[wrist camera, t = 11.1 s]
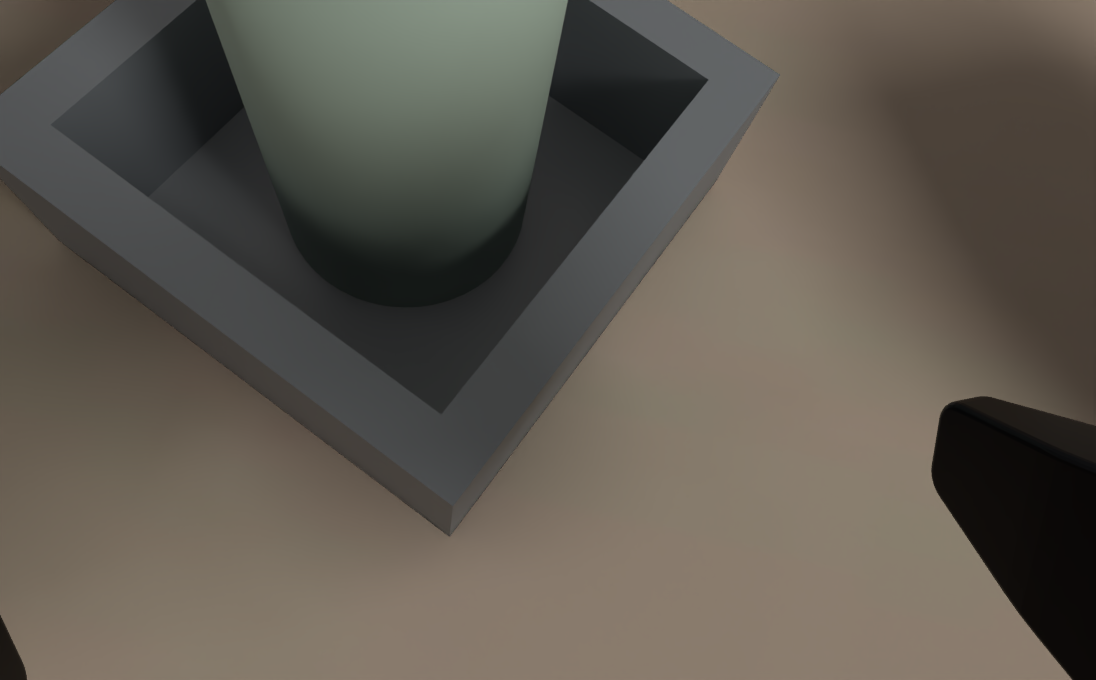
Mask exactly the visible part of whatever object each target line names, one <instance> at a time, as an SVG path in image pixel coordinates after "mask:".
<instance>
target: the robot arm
mask: <svg viewBox="0 0 1096 680" xmlns="http://www.w3.org/2000/svg"><path fill="white" fill-rule="evenodd" d="M931 472H932V479H933V483H934V486H935V489H936V491H937V493H938V495H939V496H940V498H941V499H942V501H943V502H944V504H945V505H946V507H947V508H948V510H949V511H950V513H951V514H952V516H953V517H954V519H955V520H956V522H957V523H958V525H959V526H960V528H961V529H962V530H963V532H964V533H965V535H966V536H967V538H968V539H969V541H970V542H971V544H972V545H973V547H974V548H975V550H976V551H977V553H978V554H979V556H980V557H981V559H982V560H983V562H984V563H985V565H986V566H987V568H988V569H989V571H990V572H991V574H992V575H993V577H994V578H995V580H996V581H997V583H998V584H999V586H1000V587H1001V589H1002V590H1003V592H1004V593H1005V595H1006V596H1007V597H1008V599H1009V600H1010V602H1011V603H1012V604H1013V606H1014V607H1015V609H1016V610H1017V611H1018V613H1019V614H1020V616H1021V617H1022V618H1023V619H1024V621H1025V622H1026V623H1027V625H1028V626H1029V627H1030V628H1031V630H1032V631H1033V632H1034V633H1035V635H1036V636H1037V637H1038V638H1039V640H1040V641H1041V642H1042V643H1043V645H1044V646H1045V647H1046V648H1047V649H1048V651H1049V652H1050V653H1051V654H1052V656H1053V657H1054V658H1055V659H1056V660H1057V662H1058V663H1059V664H1060V665H1061V667H1062V668H1063V669H1064V670H1065V671H1066V673H1067V674H1068V675H1069V676H1070V678H1071V679H1072V680H1096V426H1094V425H1090V424H1087V423H1083V422H1079V421H1076V420H1072V419H1068V418H1065V417H1061V416H1058V415H1054V414H1050V413H1047V412H1043V411H1039V410H1036V409H1032V408H1028V407H1025V406H1021V405H1017V404H1014V403H1010V402H1006V401H1003V400H999V399H995V398H992V397H987V396H980V397H974V398H969V399H964V400H960V401H955V402H951V403H949V404H948V405H946V406H945V407H944V409H943V410H942V412H941V415H940V418H939V425H938V431H937V437H936V443H935V449H934V455H933V461H932V469H931ZM0 680H27V675H26V671H25V667H24V665H23V662H22V660H21V658H20V656H19V654H18V651H17V649H16V647H15V645H14V643H13V641H12V639H11V637H10V635H9V632H8V630H7V628H6V626H5V624H4V622H3V620H2V618H1V615H0Z"/></svg>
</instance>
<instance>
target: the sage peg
mask: <svg viewBox="0 0 1096 680" xmlns="http://www.w3.org/2000/svg"><path fill="white" fill-rule="evenodd" d="M567 2H568V0H206V3H207V6H208V8H209V11H210V14H211V17H212V19H213V22H214V25H215V28H216V30H217V33H218V36H219V38H220V41H221V44H222V47H223V49H224V52H225V55H226V58H227V60H228V63H229V66H230V69H231V71H232V74H233V77H234V80H235V82H236V85H237V88H238V91H239V93H240V96H241V99H242V102H243V104H244V107H245V110H246V113H247V115H248V118H249V121H250V123H251V126H252V129H253V132H254V134H255V137H256V140H257V143H258V145H259V148H260V151H261V154H262V156H263V159H264V162H265V165H266V167H267V170H268V173H269V176H270V178H271V181H272V184H273V187H274V189H275V192H276V195H277V198H278V200H279V203H280V206H281V208H282V211H283V214H284V217H285V219H286V222H287V225H288V228H289V230H290V233H291V235H292V238H293V240H294V242H295V244H296V246H297V248H298V250H299V251H300V253H301V254H302V256H303V257H304V259H305V260H306V261H307V263H308V264H309V265H310V266H311V267H312V268H313V269H314V271H315V272H317V273H318V274H319V275H320V276H321V277H322V278H323V279H325V280H326V281H327V282H328V283H330V284H331V285H333V286H334V287H336V288H337V289H339V290H341V291H343V292H345V293H347V294H349V295H351V296H353V297H355V298H358V299H361V300H364V301H367V302H370V303H374V304H379V305H384V306H392V307H422V306H428V305H435V304H438V303H442V302H445V301H449V300H452V299H454V298H456V297H459V296H461V295H464V294H466V293H467V292H469V291H471V290H473V289H474V288H476V287H478V286H479V285H480V284H482V283H483V282H484V281H486V280H487V279H488V278H490V277H491V276H492V275H493V274H494V273H495V272H496V271H497V270H498V269H499V268H500V267H501V265H502V264H503V263H504V261H505V260H506V259H507V257H508V256H509V255H510V253H511V251H512V249H513V247H514V246H515V244H516V242H517V239H518V236H519V234H520V231H521V228H522V223H523V218H524V213H525V209H526V204H527V199H528V194H529V189H530V184H531V179H532V174H533V169H534V164H535V159H536V155H537V150H538V145H539V140H540V135H541V130H542V125H543V120H544V115H545V110H546V105H547V101H548V96H549V91H550V86H551V81H552V76H553V71H554V66H555V61H556V56H557V51H558V46H559V42H560V37H561V32H562V27H563V22H564V17H565V12H566V7H567Z"/></svg>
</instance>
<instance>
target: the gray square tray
mask: <svg viewBox="0 0 1096 680" xmlns="http://www.w3.org/2000/svg"><path fill="white" fill-rule="evenodd" d="M779 76H780V74H778V73H777V72H775V71H774V70H772V69H771V68H769V67H767V66H766V65H764V64H763V63H761V62H760V61H758V60H757V59H755V58H754V57H752V56H751V55H749V54H748V53H746V52H745V51H743V50H742V49H740V48H739V47H737V46H736V45H734V44H733V43H731V42H730V41H728V40H726V39H725V38H723V37H722V36H720V35H719V34H717V33H716V32H714V31H713V30H711V29H710V28H708V27H707V26H705V25H704V24H702V23H701V22H699V21H698V20H696V19H695V18H693V17H692V16H690V15H689V14H687V13H685V12H684V11H682V10H681V9H679V8H678V7H676V6H675V5H673V4H672V3H670V2H669V1H667V0H568V2H567V7H566V12H565V17H564V22H563V27H562V32H561V37H560V42H559V46H558V51H557V56H556V61H555V66H554V71H553V76H552V81H551V86H550V91H549V96H548V101H547V105H546V110H545V115H544V120H543V125H542V130H541V135H540V140H539V145H538V150H537V155H536V159H535V164H534V169H533V174H532V179H531V184H530V189H529V194H528V199H527V204H526V209H525V213H524V218H523V223H522V228H521V231H520V234H519V236H518V239H517V242H516V244H515V246H514V247H513V249H512V251H511V253H510V255H509V256H508V257H507V259H506V260H505V261H504V263H503V264H502V265H501V267H500V268H499V269H498V270H497V271H496V272H495V273H494V274H493V275H492V276H491V277H490V278H488V279H487V280H486V281H484V282H483V283H482V284H480V285H479V286H478V287H476V288H474V289H473V290H471V291H469V292H467V293H466V294H464V295H461V296H459V297H456V298H454V299H452V300H449V301H445V302H442V303H438V304H435V305H428V306H422V307H392V306H384V305H379V304H374V303H370V302H367V301H364V300H361V299H358V298H355V297H353V296H351V295H349V294H347V293H345V292H343V291H341V290H339V289H337V288H336V287H334V286H333V285H331V284H330V283H328V282H327V281H326V280H325V279H323V278H322V277H321V276H320V275H319V274H318V273H317V272H315V271H314V269H313V268H312V267H311V266H310V265H309V264H308V263H307V261H306V260H305V259H304V257H303V256H302V254H301V253H300V251H299V250H298V248H297V246H296V244H295V242H294V240H293V238H292V235H291V233H290V230H289V228H288V225H287V222H286V219H285V217H284V214H283V211H282V208H281V206H280V203H279V200H278V198H277V195H276V192H275V189H274V187H273V184H272V181H271V178H270V176H269V173H268V170H267V167H266V165H265V162H264V159H263V156H262V154H261V151H260V148H259V145H258V143H257V140H256V137H255V134H254V132H253V129H252V126H251V123H250V121H249V118H248V115H247V113H246V110H245V107H244V104H243V102H242V99H241V96H240V93H239V91H238V88H237V85H236V82H235V80H234V77H233V74H232V71H231V69H230V66H229V63H228V60H227V58H226V55H225V52H224V49H223V47H222V44H221V41H220V38H219V36H218V33H217V30H216V28H215V25H214V22H213V19H212V17H211V14H210V11H209V8H208V6H207V3H206V0H115V1H114V2H113V3H112V4H110V5H109V6H108V7H107V8H106V9H104V10H103V11H102V12H101V13H99V14H98V15H97V16H96V17H95V18H93V19H92V20H91V21H90V22H88V23H87V24H86V25H85V26H84V27H82V28H81V29H80V30H79V31H77V32H76V33H75V34H74V35H73V36H71V37H70V38H69V39H68V40H66V41H65V42H64V43H63V44H62V45H60V46H59V47H58V48H57V49H55V50H54V51H53V52H52V53H51V54H49V55H48V56H47V57H46V58H44V59H43V60H42V61H41V62H40V63H38V64H37V65H36V66H35V67H33V68H32V69H31V70H30V71H29V72H27V73H26V74H25V75H24V76H22V77H21V78H20V79H19V80H18V81H16V82H15V83H14V84H13V85H11V86H10V87H9V88H8V89H7V90H5V91H4V92H3V93H2V94H0V179H1V180H2V181H3V182H4V183H5V184H6V185H7V186H8V187H9V188H10V189H11V190H12V191H13V192H14V194H15V195H16V196H17V197H18V198H19V199H20V200H21V201H22V202H23V203H24V204H25V205H26V206H27V207H28V208H29V209H30V210H31V211H32V212H33V213H34V215H35V216H36V217H37V218H38V219H39V220H40V221H41V222H42V223H43V224H44V225H45V226H46V227H47V228H48V229H49V230H50V231H51V232H52V233H53V235H54V236H55V237H56V238H57V239H58V240H59V241H60V242H62V243H63V244H64V245H66V246H67V247H68V248H70V249H71V250H72V251H74V252H75V253H76V254H78V255H79V256H80V257H82V258H83V259H84V260H85V261H87V262H88V263H89V264H91V265H92V266H93V267H95V268H96V269H97V270H99V271H100V272H101V273H103V274H104V275H105V276H107V277H108V278H109V279H111V280H112V281H113V282H114V283H116V284H117V285H118V286H120V287H121V288H122V289H124V290H125V291H126V292H128V293H129V294H130V295H132V296H133V297H134V298H136V299H137V300H138V301H140V302H141V303H142V304H143V305H145V306H146V307H147V308H149V309H150V310H151V311H153V312H154V313H155V314H157V315H158V316H159V317H161V318H162V319H163V320H165V321H166V322H167V323H169V324H170V325H171V326H172V327H174V328H175V329H176V330H178V331H179V332H180V333H182V334H183V335H184V336H186V337H187V338H188V339H190V340H191V341H192V342H194V343H195V344H196V345H198V346H199V347H200V348H201V349H203V350H204V351H205V352H207V353H208V354H209V355H211V356H212V357H213V358H215V359H216V360H217V361H219V362H220V363H221V364H223V365H224V366H225V367H227V368H228V369H229V370H230V371H232V372H233V373H234V374H236V375H237V376H238V377H240V378H241V379H242V380H244V381H245V382H246V383H248V384H249V385H250V386H252V387H253V388H254V389H256V390H257V391H258V392H259V393H261V394H262V395H263V396H265V397H266V398H267V399H269V400H270V401H271V402H273V403H274V404H275V405H277V406H278V407H279V408H281V409H282V410H283V411H285V412H286V413H287V414H289V415H290V416H291V417H292V418H294V419H295V420H296V421H298V422H299V423H300V424H302V425H303V426H304V427H306V428H307V429H308V430H310V431H311V432H312V433H314V434H315V435H316V436H318V437H319V438H320V439H321V440H323V441H324V442H325V443H327V444H328V445H329V446H331V447H332V448H333V449H335V450H336V451H337V452H339V453H340V454H341V455H343V456H344V457H345V458H347V459H348V460H349V461H350V462H352V463H353V464H354V465H356V466H357V467H358V468H360V469H361V470H362V471H364V472H365V473H366V474H368V475H369V476H370V477H372V478H373V479H374V480H376V481H377V482H378V483H379V484H381V485H382V486H383V487H385V488H386V489H387V490H389V491H390V492H391V493H393V494H394V495H395V496H397V497H398V498H399V499H401V500H402V501H403V502H405V503H406V504H407V505H408V506H410V507H411V508H412V509H414V510H415V511H416V512H418V513H419V514H420V515H422V516H423V517H424V518H426V519H427V520H428V521H430V522H431V523H432V524H434V525H435V526H436V527H437V528H439V529H440V530H441V531H443V532H444V533H445V534H447V535H448V536H449V537H450V535H451V534H452V533H453V531H454V530H455V529H456V527H457V526H458V525H459V523H460V522H461V521H462V519H463V518H464V517H465V515H466V514H467V513H468V511H469V510H470V509H471V507H472V506H473V505H474V503H475V502H476V501H477V499H478V498H479V497H480V495H481V494H482V493H483V491H484V490H485V489H486V487H487V486H488V485H489V483H490V482H491V481H492V479H493V478H494V477H495V475H496V474H497V473H498V471H499V470H500V469H501V467H502V466H503V465H504V463H505V462H506V461H507V459H508V458H509V457H510V455H511V454H512V453H513V451H514V450H515V449H516V447H517V446H518V445H519V443H520V442H521V441H522V439H523V438H524V437H525V435H526V434H527V433H528V431H529V430H530V429H531V427H532V426H533V425H534V423H535V422H536V421H537V419H538V418H539V417H540V415H541V414H542V413H543V411H544V410H545V409H546V407H547V406H548V405H549V403H550V402H551V401H552V399H553V398H554V397H555V395H556V394H557V393H558V391H559V390H560V389H561V387H562V386H563V385H564V383H565V382H566V381H567V379H568V378H569V377H570V375H571V374H572V373H573V371H574V370H575V369H576V367H577V366H578V365H579V363H580V362H581V361H582V359H583V358H584V357H585V355H586V354H587V353H588V351H589V350H590V349H591V347H592V346H593V345H594V343H595V342H596V341H597V339H598V338H599V337H600V335H601V334H602V333H603V331H604V330H605V329H606V327H607V326H608V325H609V323H610V322H611V321H612V319H613V318H614V317H615V315H616V314H617V313H618V311H619V310H620V309H621V307H622V306H623V305H624V303H625V302H626V301H627V299H628V298H629V297H630V295H631V294H632V293H633V291H634V290H635V289H636V287H637V286H638V284H639V283H640V282H641V280H642V279H643V278H644V276H645V275H646V274H647V272H648V271H649V270H650V268H651V267H652V266H653V264H654V263H655V262H656V260H657V259H658V258H659V256H660V255H661V254H662V252H663V251H664V250H665V248H666V247H667V246H668V244H669V243H670V242H671V240H672V239H673V238H674V236H675V235H676V234H677V232H678V231H679V230H680V228H681V227H682V226H683V224H684V223H685V222H686V220H687V219H688V218H689V216H690V215H691V214H692V212H693V211H694V210H695V208H696V207H697V206H698V204H699V203H700V202H701V200H702V199H703V198H704V196H705V195H706V194H707V192H708V191H709V190H710V188H711V187H712V186H713V184H714V183H715V182H716V180H717V178H718V177H719V175H720V173H721V172H722V170H723V168H724V167H725V165H726V163H727V162H728V160H729V159H730V157H731V155H732V154H733V152H734V150H735V149H736V147H737V145H738V144H739V142H740V140H741V139H742V137H743V135H744V134H745V132H746V130H747V129H748V127H749V126H750V124H751V122H752V121H753V119H754V117H755V116H756V114H757V112H758V111H759V109H760V107H761V106H762V104H763V102H764V101H765V99H766V97H767V96H768V94H769V93H770V91H771V89H772V88H773V86H774V84H775V83H776V81H777V79H778V78H779Z"/></svg>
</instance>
